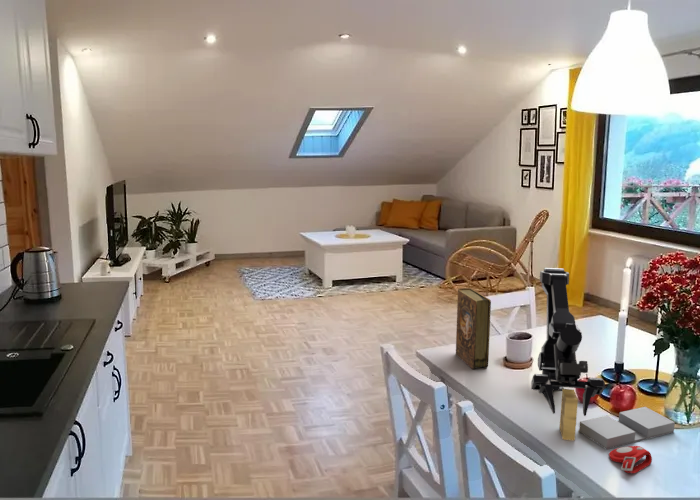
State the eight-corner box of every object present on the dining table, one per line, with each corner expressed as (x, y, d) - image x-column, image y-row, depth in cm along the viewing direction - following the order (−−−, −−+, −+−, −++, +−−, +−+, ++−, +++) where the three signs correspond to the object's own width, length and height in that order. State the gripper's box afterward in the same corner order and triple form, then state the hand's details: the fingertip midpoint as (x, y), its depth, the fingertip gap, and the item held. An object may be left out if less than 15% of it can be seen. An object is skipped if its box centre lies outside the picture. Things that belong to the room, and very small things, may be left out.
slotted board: (579, 431, 164) (579, 421, 163) (644, 416, 172) (645, 406, 172) (606, 449, 155) (607, 438, 154) (673, 432, 163) (674, 422, 162)
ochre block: (559, 428, 165) (562, 388, 163) (570, 429, 165) (573, 389, 162) (562, 439, 159) (566, 398, 157) (574, 440, 159) (577, 399, 156)
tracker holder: (600, 448, 154) (637, 438, 154) (605, 464, 153) (641, 454, 154) (622, 463, 141) (662, 452, 142) (627, 481, 141) (667, 470, 142)
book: (454, 353, 221) (456, 288, 215) (467, 352, 222) (470, 287, 217) (473, 370, 205) (476, 301, 200) (488, 368, 206) (491, 300, 201)
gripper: (535, 346, 163) (537, 401, 154) (606, 350, 160) (613, 407, 151) (530, 362, 172) (532, 415, 164) (597, 367, 169) (603, 420, 160)
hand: (569, 414), depth 159 cm, fingers open, 8 cm apart
